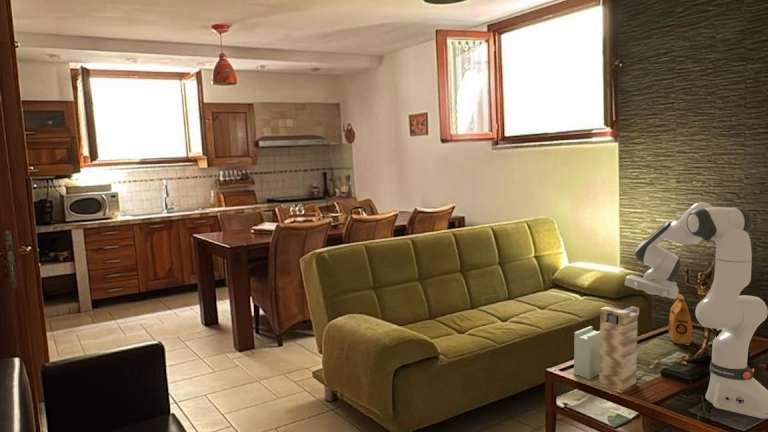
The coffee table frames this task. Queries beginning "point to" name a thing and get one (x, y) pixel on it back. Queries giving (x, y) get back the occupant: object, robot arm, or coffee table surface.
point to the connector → (614, 318)
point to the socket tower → (618, 348)
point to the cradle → (587, 352)
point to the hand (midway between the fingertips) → (649, 291)
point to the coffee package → (680, 321)
